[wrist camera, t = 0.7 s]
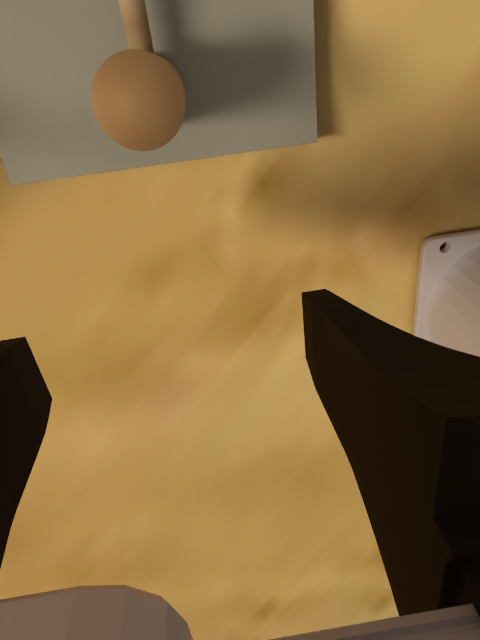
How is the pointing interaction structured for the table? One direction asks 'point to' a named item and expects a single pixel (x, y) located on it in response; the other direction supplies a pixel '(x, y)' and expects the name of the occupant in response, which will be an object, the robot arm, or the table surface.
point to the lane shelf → (176, 46)
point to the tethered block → (138, 88)
